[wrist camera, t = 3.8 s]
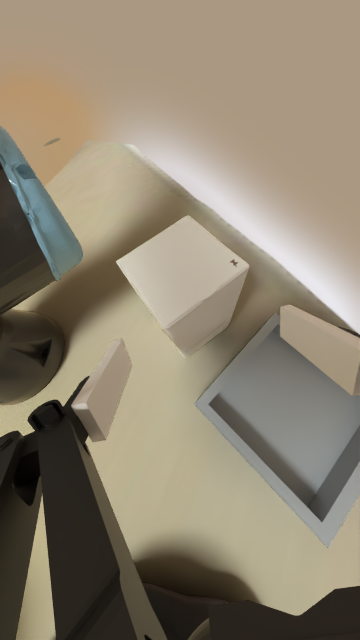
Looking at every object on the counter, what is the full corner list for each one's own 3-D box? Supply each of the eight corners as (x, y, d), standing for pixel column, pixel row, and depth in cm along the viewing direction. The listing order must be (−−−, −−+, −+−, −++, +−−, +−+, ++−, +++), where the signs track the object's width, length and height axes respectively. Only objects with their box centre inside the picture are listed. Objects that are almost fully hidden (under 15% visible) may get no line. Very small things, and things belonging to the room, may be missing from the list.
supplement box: (195, 289, 32) (188, 209, 18) (230, 326, 28) (255, 263, 14) (153, 319, 30) (112, 258, 17) (184, 361, 27) (165, 329, 13)
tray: (195, 402, 25) (194, 404, 21) (267, 321, 28) (275, 312, 25) (306, 521, 19) (327, 548, 16) (381, 403, 22) (411, 405, 19)
